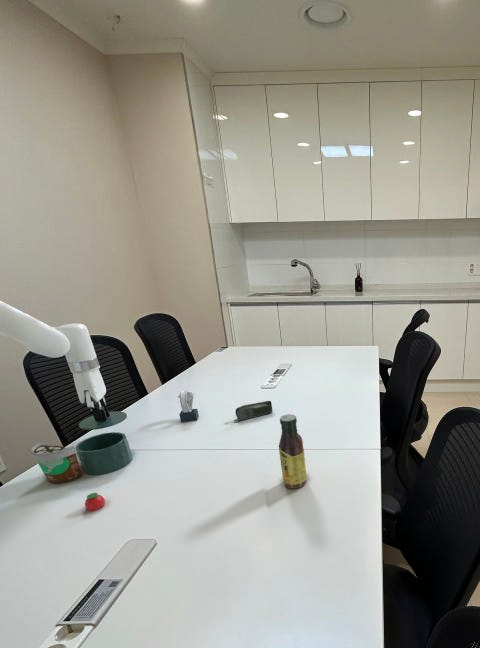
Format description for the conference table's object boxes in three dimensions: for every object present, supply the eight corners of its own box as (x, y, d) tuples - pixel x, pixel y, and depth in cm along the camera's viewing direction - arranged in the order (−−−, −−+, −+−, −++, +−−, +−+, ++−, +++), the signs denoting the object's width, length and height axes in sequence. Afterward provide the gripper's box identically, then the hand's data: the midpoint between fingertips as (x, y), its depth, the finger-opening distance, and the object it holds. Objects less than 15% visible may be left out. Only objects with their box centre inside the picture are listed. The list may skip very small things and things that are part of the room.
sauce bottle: (282, 479, 106) (273, 413, 98) (305, 475, 108) (297, 409, 100) (285, 492, 100) (276, 423, 92) (309, 487, 102) (302, 419, 94)
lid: (73, 434, 120) (66, 418, 117) (87, 417, 131) (82, 402, 129) (121, 427, 123) (116, 411, 121) (131, 411, 135) (127, 397, 133)
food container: (31, 483, 107) (16, 452, 103) (52, 472, 113) (39, 441, 109) (66, 489, 104) (53, 456, 100) (86, 476, 110) (74, 445, 106)
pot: (77, 478, 109) (68, 455, 106) (92, 457, 120) (84, 436, 117) (126, 470, 112) (119, 447, 109) (136, 450, 123) (130, 429, 120)
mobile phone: (269, 399, 149) (230, 407, 141) (272, 401, 147) (232, 410, 139) (270, 410, 151) (232, 420, 143) (273, 413, 149) (234, 422, 141)
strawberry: (85, 517, 93) (79, 501, 91) (91, 507, 97) (85, 492, 95) (104, 513, 94) (98, 498, 92) (109, 504, 98) (104, 489, 96)
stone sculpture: (199, 414, 149) (193, 387, 145) (196, 422, 142) (189, 394, 138) (184, 415, 148) (177, 388, 144) (179, 424, 141) (172, 396, 137)
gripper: (79, 359, 125) (97, 411, 133) (59, 373, 111) (81, 431, 119) (105, 357, 127) (122, 408, 135) (89, 370, 113) (108, 427, 121)
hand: (102, 418), depth 127 cm, fingers closed on lid, 2 cm apart
